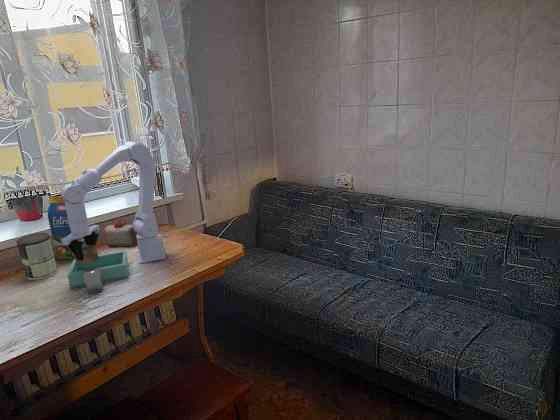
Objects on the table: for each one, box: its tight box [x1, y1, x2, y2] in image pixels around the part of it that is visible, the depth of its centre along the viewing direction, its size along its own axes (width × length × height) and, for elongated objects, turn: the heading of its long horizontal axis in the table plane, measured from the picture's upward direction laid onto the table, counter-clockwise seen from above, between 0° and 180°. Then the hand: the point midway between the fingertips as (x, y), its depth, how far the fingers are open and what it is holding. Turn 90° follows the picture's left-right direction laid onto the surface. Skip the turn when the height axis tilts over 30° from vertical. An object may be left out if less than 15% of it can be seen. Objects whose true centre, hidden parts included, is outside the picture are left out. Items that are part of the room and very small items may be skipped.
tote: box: [67, 250, 129, 290], centre depth 147 cm, size 18×14×5 cm
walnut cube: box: [75, 244, 99, 265], centre depth 144 cm, size 5×5×5 cm
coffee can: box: [16, 232, 58, 281], centre depth 150 cm, size 10×10×14 cm
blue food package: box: [47, 195, 86, 261], centre depth 162 cm, size 6×12×25 cm, turn 78°
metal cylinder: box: [83, 268, 105, 295], centre depth 135 cm, size 5×5×7 cm
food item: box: [103, 220, 138, 247], centre depth 175 cm, size 14×8×10 cm, turn 76°
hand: (86, 257), depth 144 cm, fingers closed on walnut cube, 5 cm apart
